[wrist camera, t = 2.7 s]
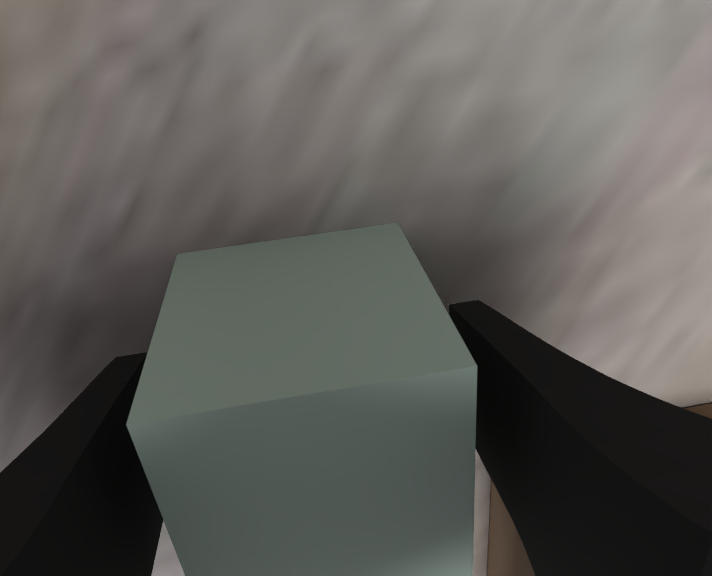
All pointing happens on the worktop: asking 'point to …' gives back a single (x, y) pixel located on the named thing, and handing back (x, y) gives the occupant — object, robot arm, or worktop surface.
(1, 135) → the worktop surface
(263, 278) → the block
